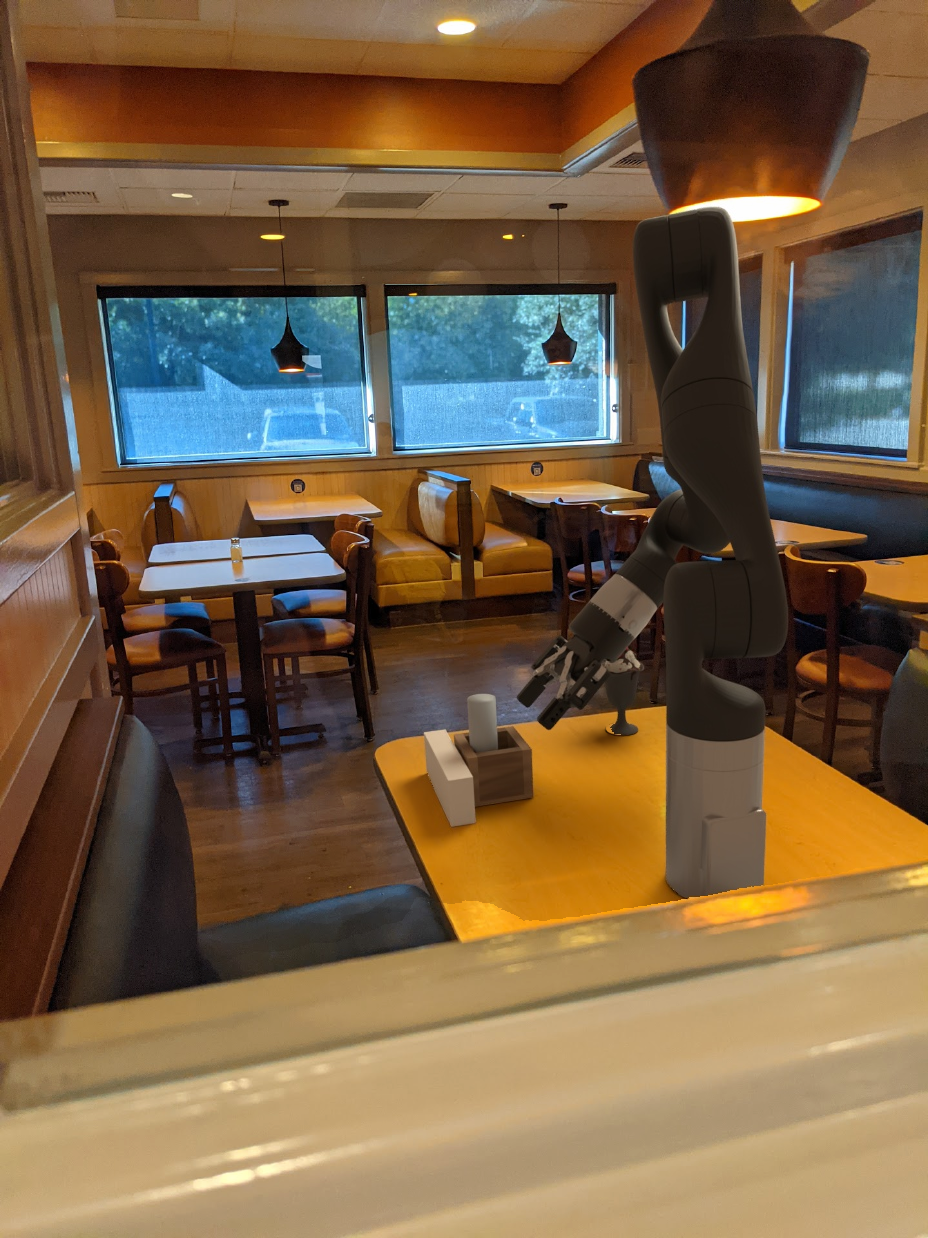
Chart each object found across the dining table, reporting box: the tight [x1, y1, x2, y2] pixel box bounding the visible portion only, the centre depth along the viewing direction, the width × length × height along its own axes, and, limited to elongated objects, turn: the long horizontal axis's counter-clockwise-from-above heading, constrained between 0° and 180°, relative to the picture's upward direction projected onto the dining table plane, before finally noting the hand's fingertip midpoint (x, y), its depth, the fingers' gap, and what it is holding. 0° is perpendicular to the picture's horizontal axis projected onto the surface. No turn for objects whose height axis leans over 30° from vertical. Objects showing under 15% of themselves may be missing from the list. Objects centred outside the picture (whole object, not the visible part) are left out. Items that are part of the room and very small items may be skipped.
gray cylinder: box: [466, 693, 498, 753], centre depth 106 cm, size 4×4×12 cm
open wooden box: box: [453, 725, 535, 808], centre depth 108 cm, size 8×8×7 cm
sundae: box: [601, 646, 645, 737], centre depth 124 cm, size 7×7×15 cm
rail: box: [423, 729, 477, 828], centre depth 106 cm, size 16×3×6 cm, turn 13°
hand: (531, 714), depth 107 cm, fingers open, 8 cm apart
